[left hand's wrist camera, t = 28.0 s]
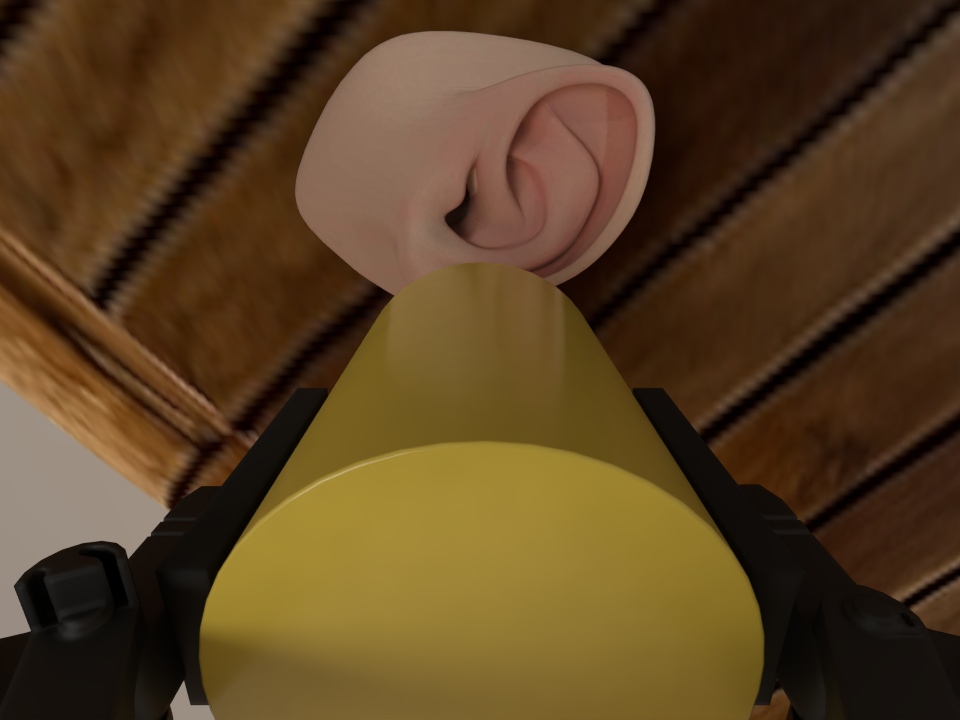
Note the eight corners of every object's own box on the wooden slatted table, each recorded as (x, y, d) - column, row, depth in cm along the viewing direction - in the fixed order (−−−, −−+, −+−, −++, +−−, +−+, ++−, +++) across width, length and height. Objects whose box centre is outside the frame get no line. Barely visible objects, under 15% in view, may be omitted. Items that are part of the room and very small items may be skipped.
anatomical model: (247, 282, 20) (301, -74, 17) (283, 264, 24) (334, -31, 20) (579, 377, 22) (701, 67, 18) (564, 345, 25) (662, 83, 22)
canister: (507, 208, 16) (559, 309, 6) (643, 401, 18) (859, 728, 8) (312, 356, 18) (74, 646, 7) (458, 517, 20) (435, 913, 10)
